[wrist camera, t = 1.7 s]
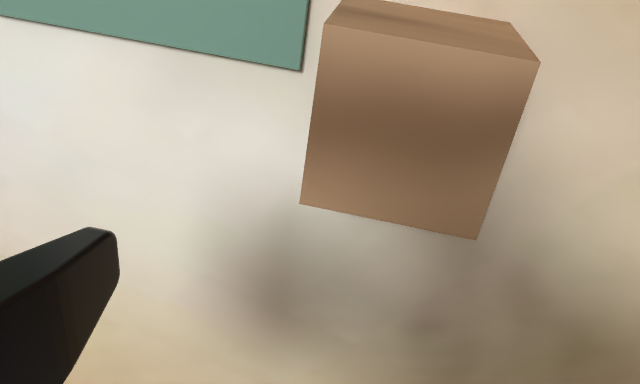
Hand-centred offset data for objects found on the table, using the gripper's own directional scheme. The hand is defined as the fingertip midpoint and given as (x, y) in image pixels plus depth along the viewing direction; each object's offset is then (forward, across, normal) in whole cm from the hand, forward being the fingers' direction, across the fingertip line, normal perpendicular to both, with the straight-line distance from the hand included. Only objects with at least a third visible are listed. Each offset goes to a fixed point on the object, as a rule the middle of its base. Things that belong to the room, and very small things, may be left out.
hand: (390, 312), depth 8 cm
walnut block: (+12, 0, 0) cm, 12 cm away
